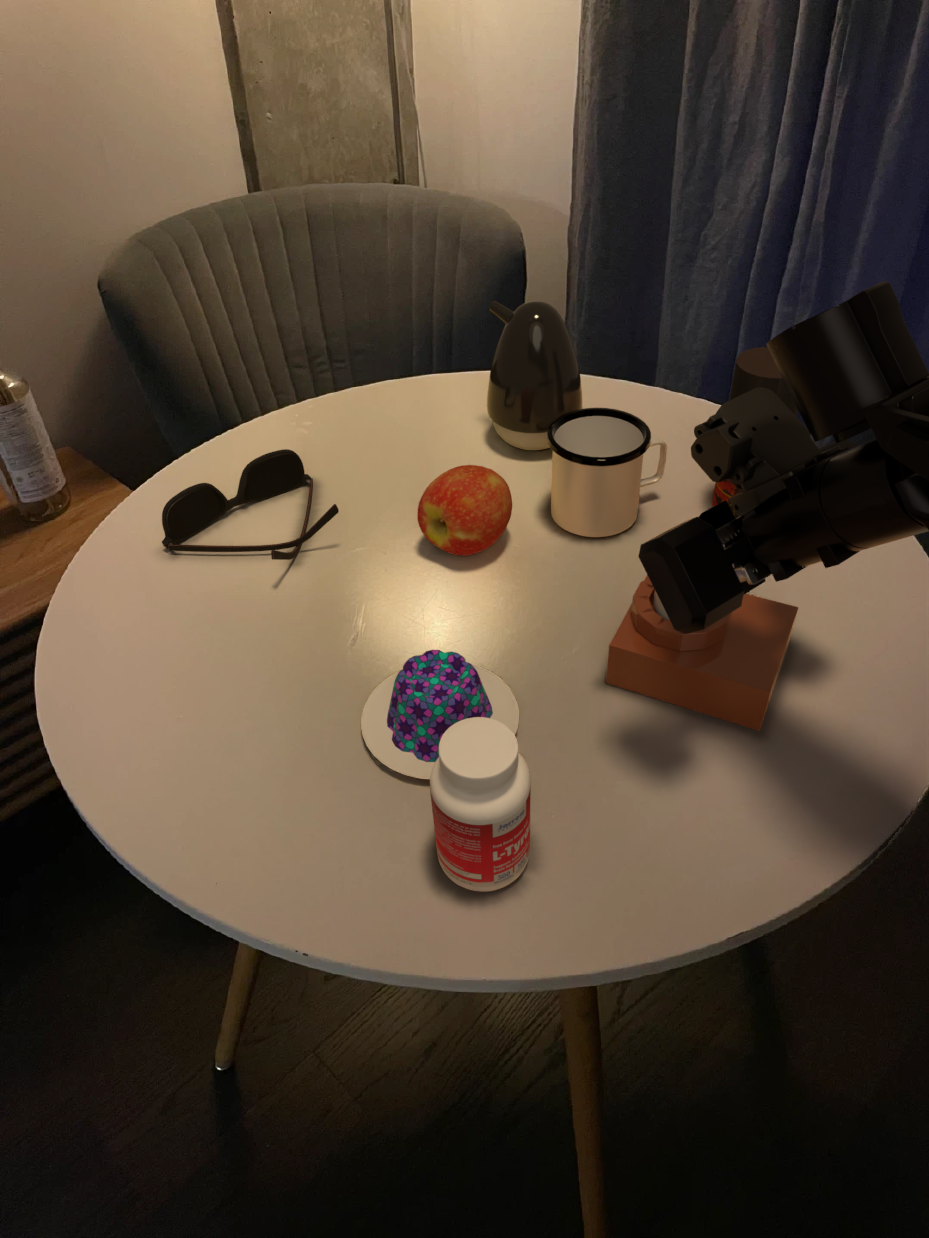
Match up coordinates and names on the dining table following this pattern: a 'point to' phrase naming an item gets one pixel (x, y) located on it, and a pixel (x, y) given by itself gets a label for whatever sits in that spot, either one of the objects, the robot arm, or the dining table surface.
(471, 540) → the apple
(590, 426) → the mug
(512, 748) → the pill bottle
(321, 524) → the sunglasses
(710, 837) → the dining table surface
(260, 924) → the dining table surface
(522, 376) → the pump dispenser
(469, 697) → the pudding
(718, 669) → the button housing
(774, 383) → the deodorant
